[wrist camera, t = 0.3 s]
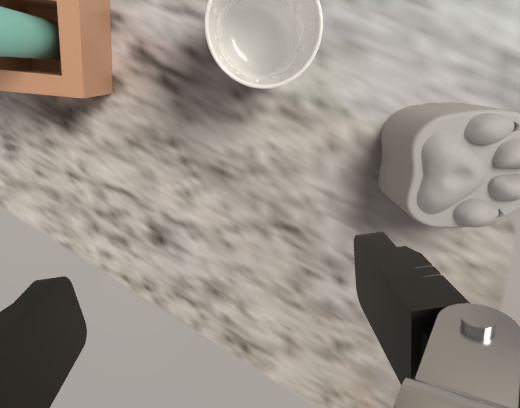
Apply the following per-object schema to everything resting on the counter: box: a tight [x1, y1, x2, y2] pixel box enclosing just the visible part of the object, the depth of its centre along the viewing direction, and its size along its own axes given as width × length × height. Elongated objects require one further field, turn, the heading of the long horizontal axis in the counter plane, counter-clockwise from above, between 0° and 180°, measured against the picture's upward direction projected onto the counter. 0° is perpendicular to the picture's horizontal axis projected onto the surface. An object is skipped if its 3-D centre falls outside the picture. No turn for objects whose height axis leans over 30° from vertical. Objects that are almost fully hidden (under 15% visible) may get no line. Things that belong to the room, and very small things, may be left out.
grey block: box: [378, 103, 520, 228], centre depth 35 cm, size 10×13×9 cm
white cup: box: [204, 0, 323, 89], centre depth 30 cm, size 8×8×10 cm
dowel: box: [0, 7, 61, 60], centre depth 27 cm, size 3×3×12 cm
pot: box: [0, 0, 113, 98], centre depth 30 cm, size 8×8×7 cm
